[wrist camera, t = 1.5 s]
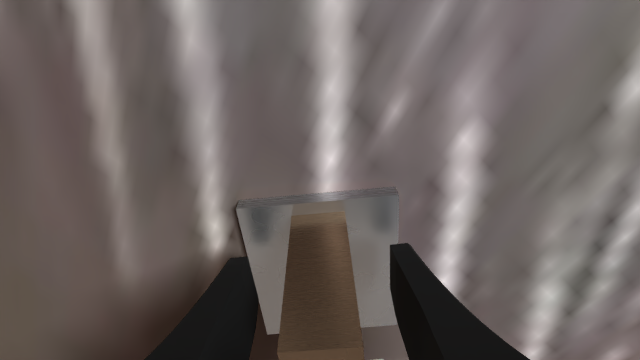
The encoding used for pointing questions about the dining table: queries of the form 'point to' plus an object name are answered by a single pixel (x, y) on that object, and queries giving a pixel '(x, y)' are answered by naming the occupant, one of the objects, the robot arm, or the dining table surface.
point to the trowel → (322, 268)
